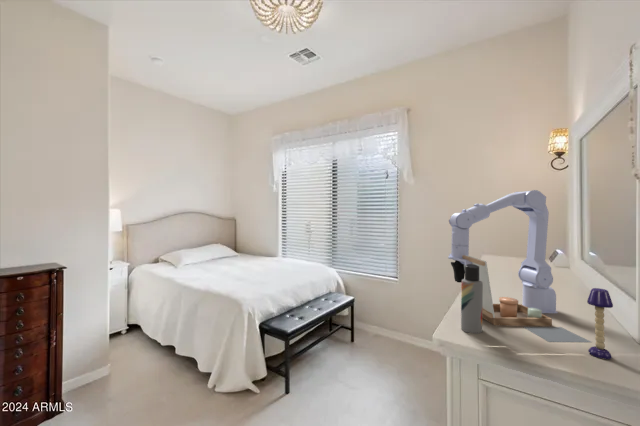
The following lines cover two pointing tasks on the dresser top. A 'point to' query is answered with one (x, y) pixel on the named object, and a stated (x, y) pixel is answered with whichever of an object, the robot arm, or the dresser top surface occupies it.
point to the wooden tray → (520, 320)
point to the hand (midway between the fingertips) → (459, 281)
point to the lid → (483, 277)
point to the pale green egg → (534, 313)
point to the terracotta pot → (508, 307)
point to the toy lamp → (599, 320)
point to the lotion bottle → (471, 300)
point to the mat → (556, 334)
